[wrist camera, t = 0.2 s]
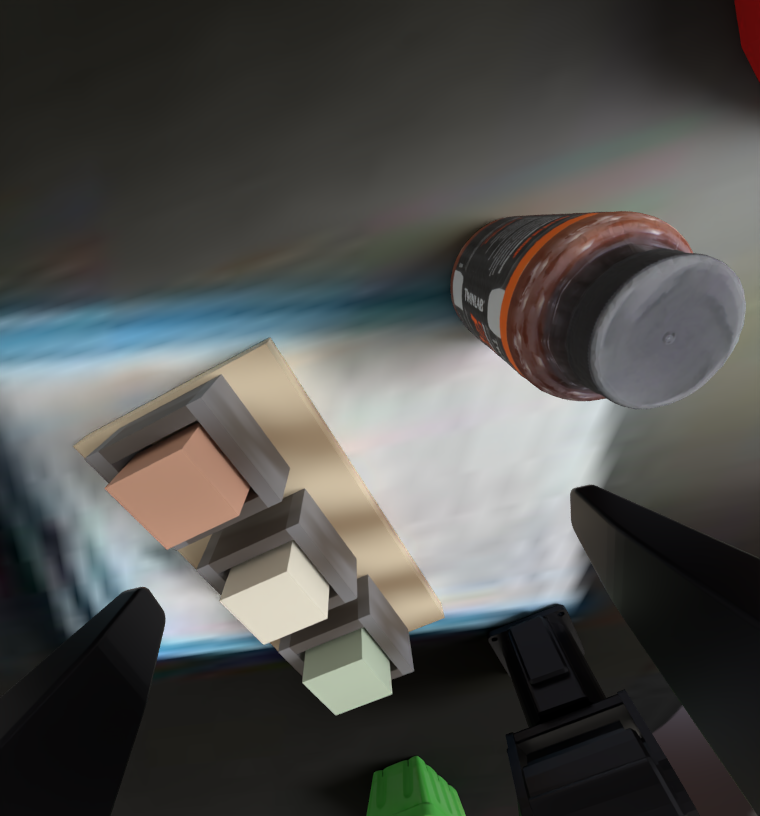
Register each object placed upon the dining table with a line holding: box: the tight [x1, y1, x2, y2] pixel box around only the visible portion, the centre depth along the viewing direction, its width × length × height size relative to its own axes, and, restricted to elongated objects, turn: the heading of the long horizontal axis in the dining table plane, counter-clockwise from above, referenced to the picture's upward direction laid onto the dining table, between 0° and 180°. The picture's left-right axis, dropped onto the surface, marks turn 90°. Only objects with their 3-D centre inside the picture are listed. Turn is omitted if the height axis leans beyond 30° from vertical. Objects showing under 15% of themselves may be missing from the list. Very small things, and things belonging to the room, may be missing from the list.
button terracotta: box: [105, 422, 250, 549], centre depth 19 cm, size 4×4×3 cm
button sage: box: [302, 627, 392, 715], centre depth 25 cm, size 4×4×3 cm
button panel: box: [73, 338, 445, 680], centre depth 24 cm, size 23×12×4 cm, turn 27°
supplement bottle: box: [450, 211, 746, 409], centre depth 15 cm, size 6×6×11 cm
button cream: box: [219, 540, 329, 645], centre depth 22 cm, size 4×4×3 cm
